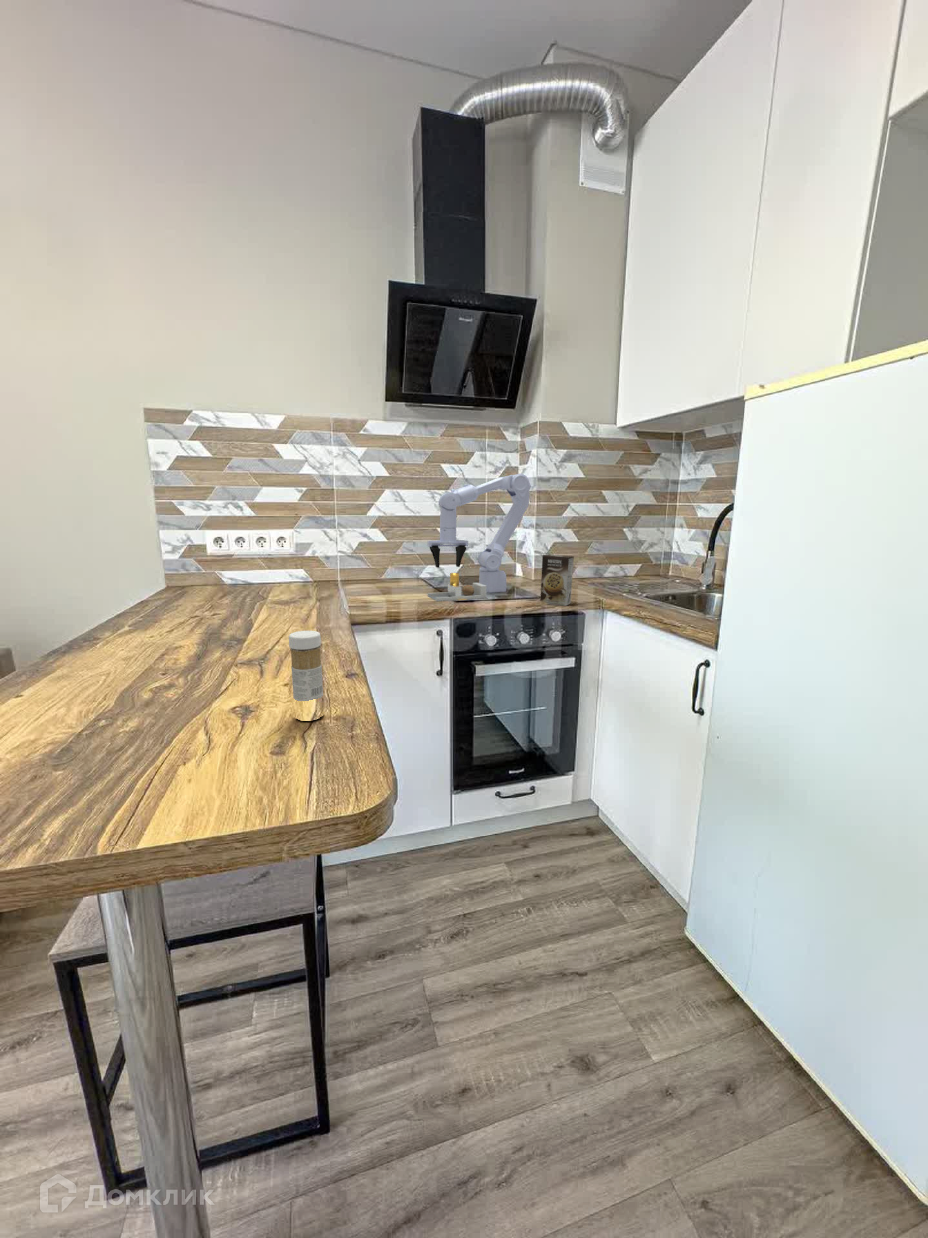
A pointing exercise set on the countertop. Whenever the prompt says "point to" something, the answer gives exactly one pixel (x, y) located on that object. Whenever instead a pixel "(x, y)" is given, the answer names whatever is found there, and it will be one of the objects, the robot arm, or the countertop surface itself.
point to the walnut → (468, 590)
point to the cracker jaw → (454, 585)
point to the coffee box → (556, 579)
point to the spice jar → (306, 665)
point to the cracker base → (478, 594)
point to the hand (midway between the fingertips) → (447, 567)
